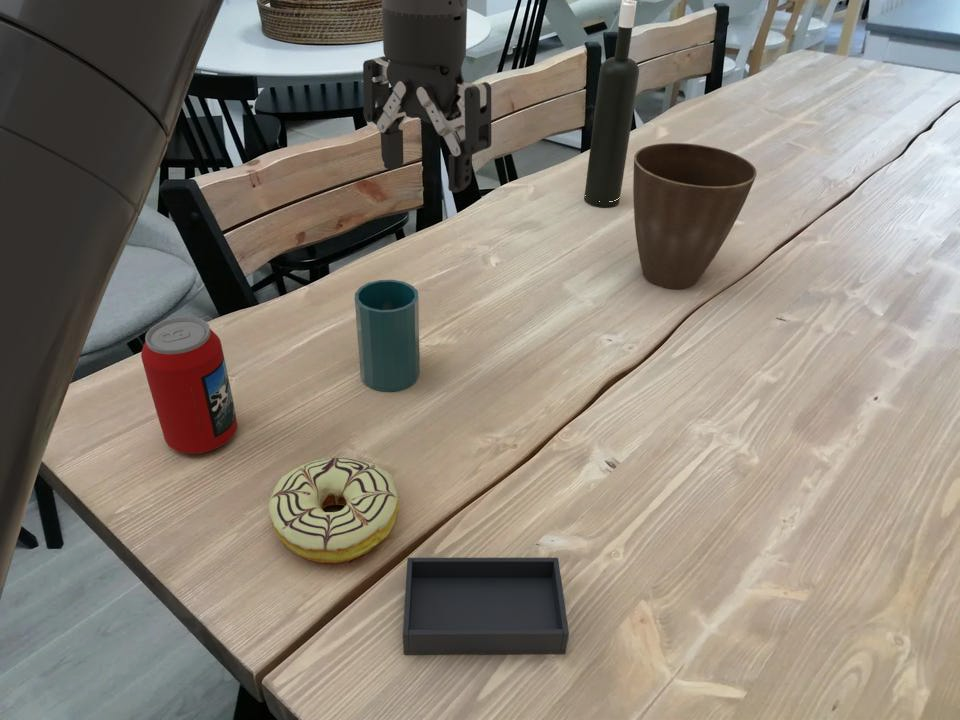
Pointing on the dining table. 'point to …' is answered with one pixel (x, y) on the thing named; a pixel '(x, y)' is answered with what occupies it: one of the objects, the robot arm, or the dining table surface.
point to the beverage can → (189, 384)
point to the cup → (388, 334)
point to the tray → (484, 606)
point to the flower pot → (685, 208)
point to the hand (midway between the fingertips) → (425, 178)
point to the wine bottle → (613, 117)
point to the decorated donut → (334, 532)
